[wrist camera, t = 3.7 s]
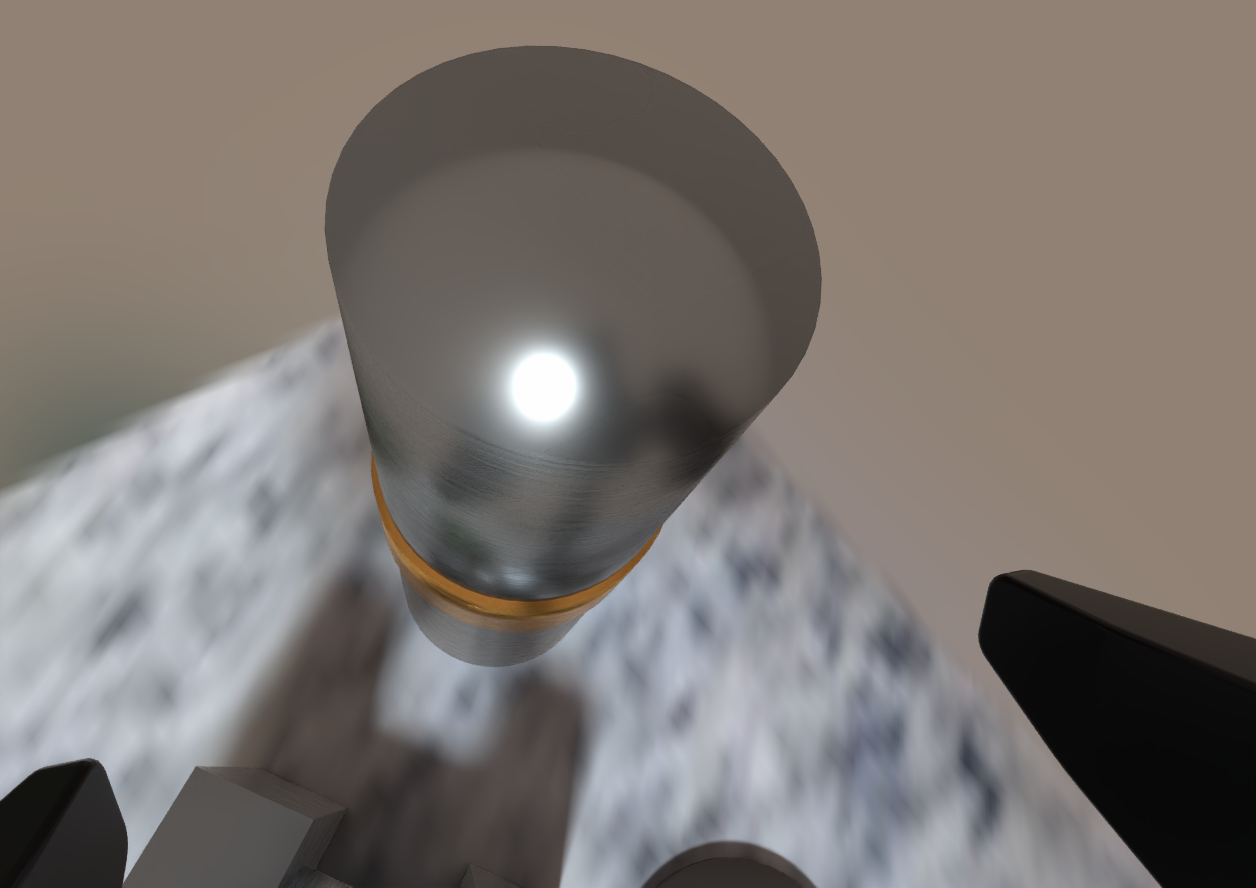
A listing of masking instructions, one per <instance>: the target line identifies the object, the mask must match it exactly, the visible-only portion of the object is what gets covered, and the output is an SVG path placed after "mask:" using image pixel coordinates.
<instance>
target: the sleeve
mask: <svg viewBox="0 0 1256 888" xmlns="http://www.w3.org/2000/svg"><path fill="white" fill-rule="evenodd" d="M325 236H326V243H327V252H328V260H329V264H330V269H331V273H332V277H333V282H334V286H335V290H336V295H337V299H338V304H339V308H340V312H341V317H342V321H343V325H344V330H345V334H346V338H347V343H348V347H349V351H350V356H351V360H352V365H353V369H354V373H355V378H356V382H357V386H358V391H359V395H360V399H361V404H362V408H363V412H364V417H365V421H366V426H367V430H368V434H369V439H370V443H371V447H372V464H371V472H372V480H373V487H374V493H375V497H376V501H377V505H378V508H379V512H380V516H381V520H382V524H383V528H384V532H385V535H386V539H387V542H388V546H389V548H390V551H391V553H392V555H393V557H394V560H395V562H396V564H397V565H398V567H399V569H400V574H401V578H402V582H403V587H404V591H405V596H406V599H407V603H408V606H409V609H410V611H411V614H412V616H413V618H414V620H415V622H416V623H417V625H418V626H419V628H420V630H421V631H422V632H423V633H424V634H425V636H426V637H427V638H428V639H429V640H430V641H431V642H432V643H433V644H435V645H436V646H437V647H438V648H439V649H441V650H442V651H444V652H445V653H447V654H448V655H450V656H452V657H454V658H456V659H459V660H461V661H464V662H467V663H470V664H475V665H480V666H490V667H500V666H510V665H515V664H519V663H523V662H526V661H528V660H531V659H534V658H536V657H537V656H539V655H541V654H543V653H545V652H546V651H548V650H549V649H551V648H552V647H553V646H555V645H556V644H557V643H558V642H559V641H560V640H561V639H562V638H563V637H564V636H565V635H566V634H567V633H568V632H569V631H570V629H571V628H572V627H573V626H574V625H575V624H576V623H577V621H578V620H579V619H580V618H581V617H582V616H583V615H584V613H585V612H587V611H588V610H590V609H591V608H593V607H594V606H596V605H597V604H598V603H600V602H601V601H602V600H603V599H604V598H605V597H606V596H607V595H608V594H609V593H610V592H612V590H613V589H614V588H615V587H616V586H617V585H618V584H619V583H620V582H621V581H622V580H623V579H624V577H625V576H626V575H627V574H628V573H629V572H630V571H631V570H632V569H633V568H634V567H635V566H636V564H637V563H638V562H639V561H640V560H641V558H642V557H643V556H644V555H645V554H646V552H647V551H648V550H649V549H650V547H651V546H652V544H653V542H654V541H655V539H656V537H657V536H658V534H659V532H660V530H661V528H662V525H663V524H664V522H665V521H666V520H667V519H668V518H669V517H670V516H671V514H672V513H673V512H674V511H675V510H676V509H677V508H678V506H679V505H680V504H681V503H682V502H683V501H684V500H685V499H686V497H687V496H688V495H689V494H690V493H691V492H692V491H693V489H694V488H695V487H696V486H697V485H698V484H699V483H700V481H701V480H702V479H703V478H704V477H705V476H706V475H707V473H708V472H709V471H710V470H711V469H712V468H713V467H714V466H715V464H716V463H717V462H718V461H719V460H720V459H721V458H722V456H723V455H724V454H725V453H726V452H727V451H728V450H729V448H730V447H731V446H732V445H733V444H734V443H735V442H736V440H737V439H738V438H739V437H740V436H741V435H742V434H743V433H744V431H745V430H746V429H747V428H748V427H749V426H750V425H751V423H752V422H753V421H754V420H755V419H756V417H757V416H758V415H759V414H760V413H761V412H762V411H763V410H764V408H765V407H766V406H767V405H768V404H769V403H770V402H771V401H772V399H773V398H774V397H775V396H776V395H777V394H778V392H779V391H780V390H781V389H782V387H783V386H784V385H785V384H786V383H787V381H788V380H789V379H790V378H791V377H792V375H793V374H794V372H795V370H796V369H797V367H798V365H799V363H800V362H801V360H802V358H803V357H804V355H805V353H806V351H807V348H808V346H809V343H810V340H811V338H812V335H813V333H814V330H815V326H816V321H817V317H818V312H819V307H820V299H821V279H822V278H821V268H820V257H819V251H818V246H817V242H816V238H815V234H814V230H813V227H812V224H811V221H810V219H809V216H808V214H807V211H806V209H805V206H804V204H803V202H802V200H801V198H800V196H799V194H798V192H797V190H796V189H795V187H794V185H793V183H792V181H791V180H790V178H789V177H788V175H787V174H786V172H785V171H784V169H783V168H782V167H781V165H780V164H779V162H778V161H777V159H776V158H775V157H774V156H773V155H772V153H771V152H770V151H769V150H768V149H767V148H766V147H765V145H764V144H763V143H762V142H761V141H760V140H759V138H758V137H757V136H755V135H754V134H753V133H752V132H751V131H750V130H749V129H748V128H747V127H746V126H745V125H744V124H743V123H742V122H741V121H739V120H738V119H737V118H736V117H735V116H733V115H732V114H731V113H730V112H728V111H727V110H726V109H724V108H723V107H722V106H720V105H719V104H718V103H717V102H715V101H713V100H712V99H710V98H709V97H707V96H706V95H704V94H702V93H701V92H699V91H697V90H696V89H694V88H692V87H691V86H689V85H687V84H685V83H683V82H681V81H679V80H677V79H675V78H674V77H672V76H670V75H668V74H665V73H663V72H660V71H658V70H655V69H653V68H650V67H648V66H646V65H643V64H640V63H637V62H634V61H631V60H627V59H624V58H621V57H617V56H614V55H610V54H605V53H599V52H595V51H590V50H585V49H577V48H567V47H557V46H521V47H509V48H498V49H493V50H489V51H483V52H478V53H473V54H469V55H466V56H463V57H459V58H456V59H453V60H450V61H447V62H444V63H442V64H439V65H437V66H435V67H433V68H431V69H428V70H426V71H424V72H422V73H420V74H418V75H416V76H415V77H413V78H412V79H410V80H408V81H407V82H405V83H403V84H402V85H400V86H399V87H397V88H396V89H395V90H393V91H392V92H391V93H390V94H388V95H387V96H386V97H385V98H384V99H383V100H381V101H380V102H379V103H378V104H377V105H375V106H374V107H373V109H372V110H371V111H370V112H369V113H368V114H367V115H366V117H365V118H364V119H363V120H362V121H361V122H360V123H359V125H358V126H357V127H356V129H355V130H354V132H353V134H352V135H351V137H350V138H349V140H348V141H347V143H346V145H345V146H344V148H343V150H342V152H341V154H340V157H339V159H338V162H337V164H336V167H335V169H334V171H333V174H332V178H331V182H330V187H329V191H328V195H327V200H326V215H325Z"/></svg>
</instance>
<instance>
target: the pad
mask: <svg viewBox="0 0 1256 888" xmlns="http://www.w3.org/2000/svg"><path fill="white" fill-rule="evenodd" d="M656 888H803V887H802V886H801V885H800V884H798V883H797V882H796V881H794V880H793V879H791V878H790V877H788V876H787V875H785V874H784V873H782V872H780V871H778V870H776V869H774V868H772V867H770V866H767V865H763V864H760V863H757V862H754V861H750V860H744V859H738V858H717V859H710V860H704V861H701V862H698V863H695V864H692V865H689V866H687V867H685V868H683V869H681V870H679V871H677V872H675V873H674V874H672V875H671V876H669V877H668V878H666V879H665V880H664V881H662V882H661V883H660V884H659V885H658V886H657V887H656Z"/></svg>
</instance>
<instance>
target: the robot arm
mask: <svg viewBox="0 0 1256 888" xmlns="http://www.w3.org/2000/svg"><path fill="white" fill-rule="evenodd" d="M978 639H979V644H980V648H981V650H982V653H983V654H984V656H985V658H986V659H987V661H988V662H989V663H990V665H991V666H992V668H993V669H994V671H995V672H996V674H997V675H998V676H999V678H1000V679H1001V681H1002V682H1003V684H1004V685H1005V686H1006V688H1007V689H1008V691H1009V692H1010V694H1011V695H1012V696H1013V698H1014V699H1015V701H1016V702H1017V704H1018V705H1019V706H1020V708H1021V709H1022V711H1023V712H1024V714H1025V715H1026V716H1027V718H1028V719H1029V721H1030V722H1031V724H1032V725H1033V726H1034V728H1035V729H1036V731H1037V732H1038V734H1039V735H1040V736H1041V738H1042V739H1043V741H1044V742H1045V744H1046V745H1047V746H1048V748H1049V749H1050V751H1051V752H1052V753H1053V755H1054V756H1055V758H1056V759H1057V760H1058V762H1059V763H1060V764H1061V766H1062V767H1063V769H1064V770H1065V771H1066V772H1067V774H1068V775H1069V776H1070V777H1071V779H1072V780H1073V781H1074V782H1075V784H1076V785H1077V786H1078V787H1079V789H1080V790H1081V791H1082V792H1083V793H1084V795H1085V796H1086V797H1087V798H1088V800H1089V801H1090V802H1091V803H1092V804H1093V806H1094V807H1095V808H1096V809H1097V810H1098V812H1099V813H1100V814H1101V815H1102V816H1103V818H1104V819H1105V820H1106V821H1107V822H1108V824H1109V825H1110V826H1111V827H1112V828H1113V830H1114V831H1115V832H1116V833H1117V834H1118V836H1119V837H1120V838H1121V839H1122V840H1123V842H1124V843H1125V844H1126V845H1127V846H1128V848H1129V849H1130V850H1131V851H1132V852H1133V854H1134V855H1135V856H1136V857H1137V858H1138V860H1139V861H1140V862H1141V863H1142V864H1143V866H1144V867H1145V868H1146V869H1147V870H1148V872H1149V873H1150V874H1151V875H1152V876H1153V878H1154V879H1155V880H1156V881H1157V882H1158V884H1159V885H1160V886H1161V887H1162V888H1256V639H1255V638H1252V637H1249V636H1245V635H1242V634H1238V633H1236V632H1232V631H1229V630H1225V629H1222V628H1219V627H1216V626H1213V625H1209V624H1206V623H1202V622H1199V621H1196V620H1193V619H1190V618H1186V617H1183V616H1180V615H1177V614H1173V613H1170V612H1167V611H1164V610H1160V609H1157V608H1154V607H1150V606H1147V605H1144V604H1141V603H1137V602H1134V601H1131V600H1128V599H1124V598H1121V597H1118V596H1114V595H1111V594H1108V593H1105V592H1101V591H1098V590H1095V589H1091V588H1088V587H1085V586H1082V585H1078V584H1075V583H1072V582H1068V581H1065V580H1062V579H1059V578H1056V577H1052V576H1049V575H1046V574H1043V573H1039V572H1036V571H1032V570H1020V571H1015V572H1010V573H1005V574H1000V575H998V576H996V577H994V579H993V580H992V581H991V583H990V584H989V587H988V591H987V596H986V601H985V605H984V609H983V614H982V618H981V623H980V627H979V633H978ZM127 853H128V837H127V830H126V826H125V823H124V820H123V817H122V815H121V812H120V809H119V806H118V804H117V801H116V798H115V795H114V793H113V790H112V787H111V784H110V782H109V779H108V776H107V773H106V771H105V769H104V767H103V765H102V764H101V763H100V762H99V761H98V760H95V759H91V758H86V759H81V760H76V761H71V762H66V763H61V764H56V765H51V766H47V767H44V768H41V769H38V770H37V771H35V772H33V773H32V774H31V775H29V776H28V777H27V778H26V779H25V780H23V781H22V782H21V783H20V784H19V785H18V786H17V787H15V788H14V789H13V790H12V791H11V792H10V793H9V794H7V795H6V796H5V797H4V798H3V799H2V800H1V801H0V888H122V885H123V879H124V873H125V867H126V861H127Z"/></svg>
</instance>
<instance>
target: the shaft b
mask: <svg viewBox="0 0 1256 888" xmlns="http://www.w3.org/2000/svg"><path fill="white" fill-rule="evenodd" d="M346 810H347V808H346V807H344V806H342V805H340V804H337V803H335V802H333V801H331V800H329V799H326V798H324V797H322V796H320V795H318V794H315V793H313V792H311V791H309V790H307V789H304V788H302V787H300V786H298V785H296V784H293V783H291V782H289V781H287V780H285V779H282V778H280V777H278V776H276V775H274V774H271V773H269V772H267V771H265V770H263V769H260V768H241V767H204V766H196V767H195V769H194V771H193V772H192V774H191V775H190V777H189V779H188V780H187V782H186V783H185V785H184V787H183V788H182V790H181V791H180V793H179V795H178V796H177V798H176V800H175V801H174V803H173V804H172V806H171V808H170V809H169V811H168V812H167V814H166V816H165V817H164V819H163V820H162V822H161V824H160V825H159V827H158V828H157V830H156V832H155V833H154V835H153V837H152V838H151V840H150V841H149V843H148V845H147V846H146V848H145V849H144V851H143V853H142V854H141V856H140V857H139V859H138V861H137V862H136V864H135V865H134V867H133V869H132V870H131V872H130V874H129V875H128V877H127V878H126V880H125V882H124V883H123V885H122V888H354V887H352V886H350V885H347V884H345V883H343V882H341V881H338V880H336V879H334V878H332V877H330V876H327V875H325V874H323V873H321V872H319V871H316V868H317V866H318V864H319V862H320V860H321V858H322V856H323V854H324V852H325V850H326V848H327V847H328V845H329V843H330V841H331V839H332V837H333V835H334V833H335V831H336V829H337V827H338V825H339V824H340V822H341V820H342V818H343V816H344V814H345V812H346ZM460 888H522V887H520V886H518V885H516V884H513V883H511V882H509V881H507V880H505V879H502V878H500V877H498V876H496V875H494V874H491V873H489V872H487V871H485V870H483V869H480V868H478V867H476V866H474V865H472V864H470V865H469V867H468V870H467V872H466V874H465V876H464V879H463V881H462V883H461V886H460Z"/></svg>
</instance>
